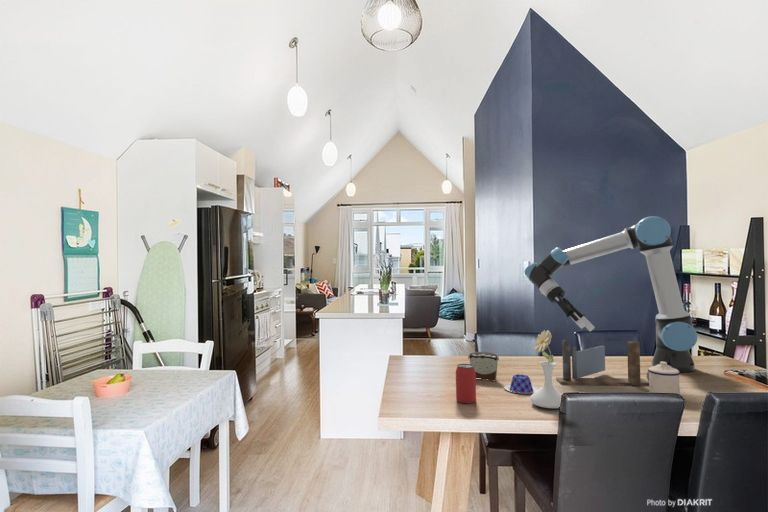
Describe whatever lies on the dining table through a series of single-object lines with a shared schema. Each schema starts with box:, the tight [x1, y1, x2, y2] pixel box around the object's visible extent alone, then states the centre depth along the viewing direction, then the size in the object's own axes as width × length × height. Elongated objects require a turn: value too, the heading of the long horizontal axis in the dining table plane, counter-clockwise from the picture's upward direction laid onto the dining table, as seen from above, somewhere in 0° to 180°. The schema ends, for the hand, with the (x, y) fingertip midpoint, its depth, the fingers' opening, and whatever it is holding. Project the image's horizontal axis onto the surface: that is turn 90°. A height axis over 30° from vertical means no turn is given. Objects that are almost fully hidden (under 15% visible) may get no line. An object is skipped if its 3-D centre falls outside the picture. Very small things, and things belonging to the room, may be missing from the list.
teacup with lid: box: [646, 362, 681, 395], centre depth 146 cm, size 12×9×12 cm
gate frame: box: [555, 339, 649, 387], centre depth 161 cm, size 32×7×16 cm, turn 84°
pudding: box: [503, 373, 540, 395], centre depth 155 cm, size 12×12×5 cm
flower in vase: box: [529, 329, 563, 409], centre depth 137 cm, size 13×11×25 cm
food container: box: [467, 351, 500, 382], centre depth 171 cm, size 12×6×10 cm, turn 65°
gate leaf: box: [571, 345, 606, 379], centre depth 168 cm, size 21×2×12 cm, turn 124°
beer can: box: [455, 363, 477, 405], centre depth 144 cm, size 7×7×12 cm
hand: (588, 328), depth 176 cm, fingers open, 13 cm apart
